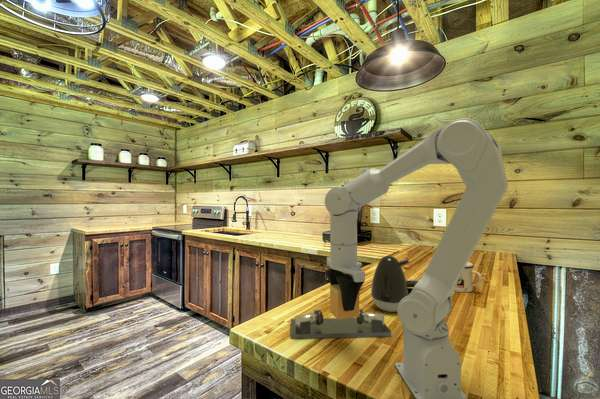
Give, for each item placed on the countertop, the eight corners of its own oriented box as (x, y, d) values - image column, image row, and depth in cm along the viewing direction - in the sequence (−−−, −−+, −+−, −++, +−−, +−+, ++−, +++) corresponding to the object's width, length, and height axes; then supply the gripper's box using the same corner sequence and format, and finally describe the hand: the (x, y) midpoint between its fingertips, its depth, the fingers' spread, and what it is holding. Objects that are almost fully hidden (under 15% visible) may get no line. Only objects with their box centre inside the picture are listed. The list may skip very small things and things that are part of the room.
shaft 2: (384, 327, 66) (384, 310, 66) (383, 333, 63) (383, 315, 63) (358, 323, 68) (358, 307, 68) (357, 329, 65) (357, 312, 65)
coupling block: (359, 316, 59) (359, 288, 59) (337, 319, 57) (337, 290, 57) (350, 309, 63) (350, 283, 63) (330, 312, 61) (330, 285, 61)
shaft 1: (299, 335, 62) (299, 317, 62) (294, 329, 65) (294, 311, 65) (323, 330, 64) (323, 312, 64) (317, 324, 67) (317, 308, 67)
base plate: (391, 336, 63) (391, 332, 63) (291, 338, 63) (290, 334, 63) (380, 321, 71) (380, 317, 71) (290, 323, 71) (290, 319, 71)
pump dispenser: (412, 317, 74) (412, 260, 74) (372, 314, 76) (371, 258, 76) (405, 303, 84) (405, 253, 84) (370, 300, 86) (370, 251, 86)
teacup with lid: (438, 287, 98) (438, 254, 98) (451, 283, 103) (451, 251, 103) (475, 297, 88) (475, 261, 88) (488, 292, 93) (487, 257, 93)
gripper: (378, 247, 54) (379, 317, 54) (345, 238, 68) (345, 293, 68) (346, 249, 52) (346, 322, 52) (318, 239, 66) (318, 296, 66)
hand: (343, 306), depth 60 cm, fingers closed on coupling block, 4 cm apart
